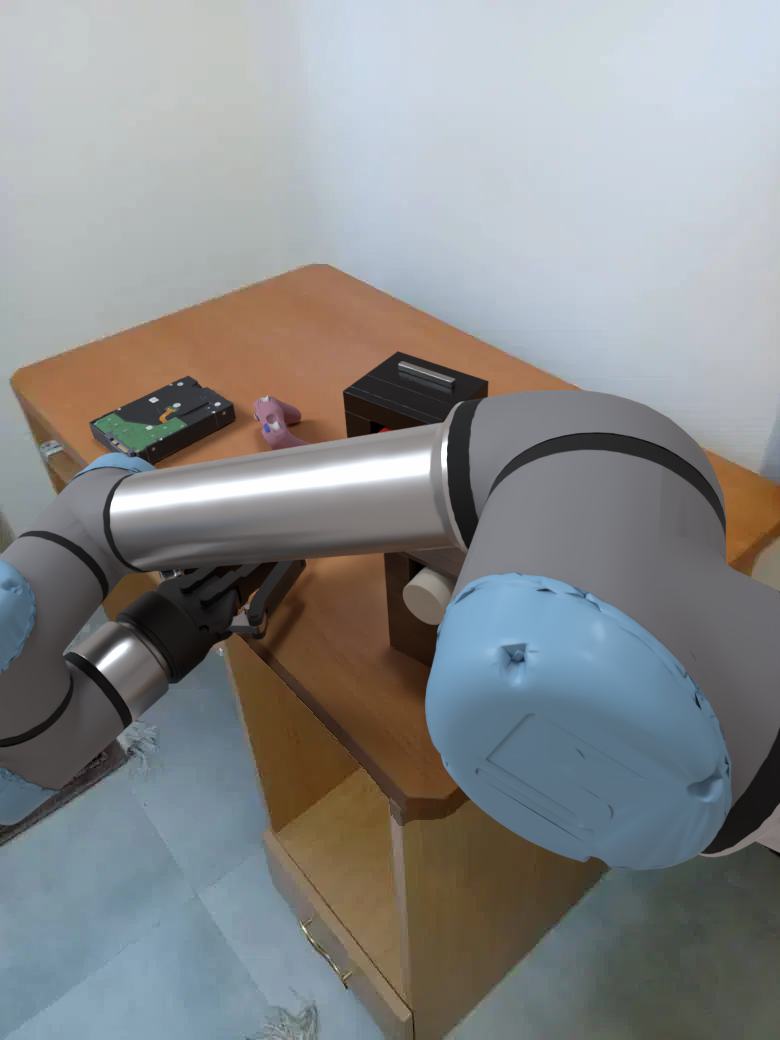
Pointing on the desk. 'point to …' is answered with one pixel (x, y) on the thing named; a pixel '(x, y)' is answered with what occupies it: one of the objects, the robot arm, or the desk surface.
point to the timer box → (402, 622)
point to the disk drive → (163, 420)
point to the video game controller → (277, 422)
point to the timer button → (429, 595)
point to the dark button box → (406, 395)
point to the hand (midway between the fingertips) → (327, 498)
